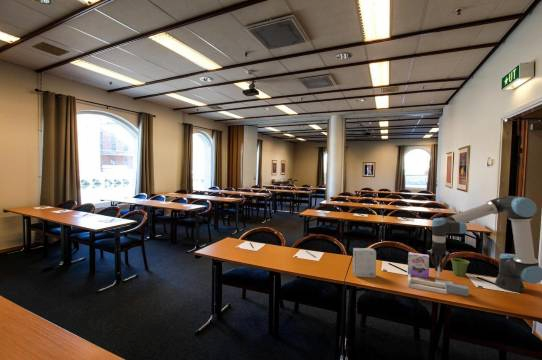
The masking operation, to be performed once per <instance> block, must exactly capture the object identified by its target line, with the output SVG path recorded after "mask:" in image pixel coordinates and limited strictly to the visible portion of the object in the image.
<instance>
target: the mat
mask: <svg viewBox="0 0 542 360" xmlns="http://www.w3.org/2000/svg"><path fill="white" fill-rule="evenodd" d="M434 282H436V283H442V284H444V288H445V283H451V284H454V282H453V281H450V280H443V279H436V278H434Z"/></svg>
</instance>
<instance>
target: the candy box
mask: <svg viewBox="0 0 542 360" xmlns="http://www.w3.org/2000/svg"><path fill="white" fill-rule="evenodd" d="M407 261H408V262H407V275H408V274H410V276H414V277H419V278H422V279H423V278H425V279H429V274H430V272H429V271H430V254H423V253H417V252H416V253H415V252H412V251H411V252H410V251H408V258H407Z"/></svg>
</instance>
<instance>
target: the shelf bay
mask: <svg viewBox="0 0 542 360" xmlns="http://www.w3.org/2000/svg"><path fill="white" fill-rule="evenodd" d="M407 284H408V288H412V289H417V290H422V291H428V292H432V293H438V294H442V295H447V292H446V291H447V290H445V287H444V284H442V283H436V282H435V281H429V280H423V279H417V278H412V277H411V275H410V274H408V273H407Z"/></svg>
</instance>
